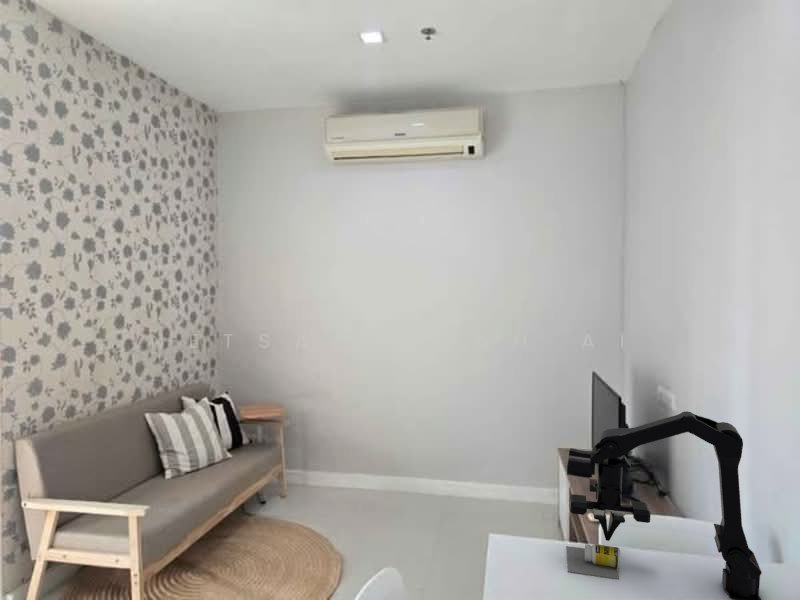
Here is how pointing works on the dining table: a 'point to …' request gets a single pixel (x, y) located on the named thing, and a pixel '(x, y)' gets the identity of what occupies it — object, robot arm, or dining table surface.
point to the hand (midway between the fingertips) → (607, 539)
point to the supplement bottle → (603, 555)
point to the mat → (587, 565)
